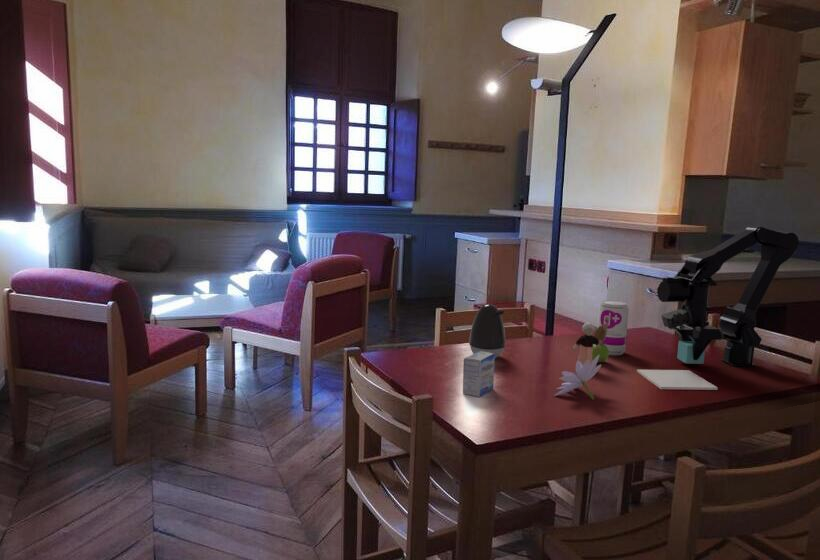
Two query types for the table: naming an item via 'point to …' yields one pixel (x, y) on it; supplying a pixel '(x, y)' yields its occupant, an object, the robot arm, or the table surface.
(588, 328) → the grandmother figurine
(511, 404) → the table surface
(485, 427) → the table surface
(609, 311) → the supplement can
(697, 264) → the robot arm
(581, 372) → the water lily
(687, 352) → the cube
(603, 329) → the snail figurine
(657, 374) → the tile
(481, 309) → the penguin figurine
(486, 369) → the medicine box
